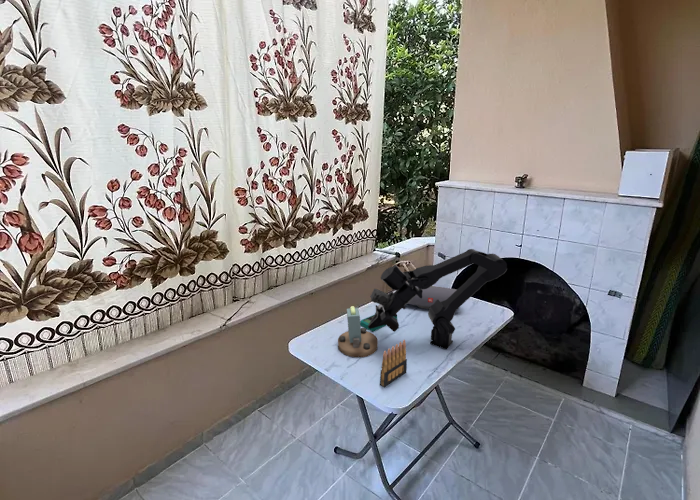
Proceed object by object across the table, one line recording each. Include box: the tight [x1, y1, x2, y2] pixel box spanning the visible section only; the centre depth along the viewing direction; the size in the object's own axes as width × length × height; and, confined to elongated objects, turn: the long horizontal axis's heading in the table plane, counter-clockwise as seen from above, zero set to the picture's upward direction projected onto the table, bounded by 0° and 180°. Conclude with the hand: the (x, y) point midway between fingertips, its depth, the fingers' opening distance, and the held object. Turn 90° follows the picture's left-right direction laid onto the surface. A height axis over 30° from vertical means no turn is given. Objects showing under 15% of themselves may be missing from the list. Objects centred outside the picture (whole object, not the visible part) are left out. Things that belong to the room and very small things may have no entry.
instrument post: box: [346, 305, 362, 343], centre depth 131 cm, size 4×6×11 cm, turn 4°
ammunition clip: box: [379, 339, 408, 389], centre depth 115 cm, size 11×2×12 cm, turn 134°
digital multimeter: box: [360, 314, 398, 333], centre depth 150 cm, size 7×15×3 cm, turn 132°
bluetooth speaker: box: [406, 285, 459, 311], centre depth 161 cm, size 23×9×10 cm, turn 73°
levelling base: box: [337, 327, 379, 359], centre depth 133 cm, size 14×14×6 cm
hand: (368, 327), depth 132 cm, fingers closed
